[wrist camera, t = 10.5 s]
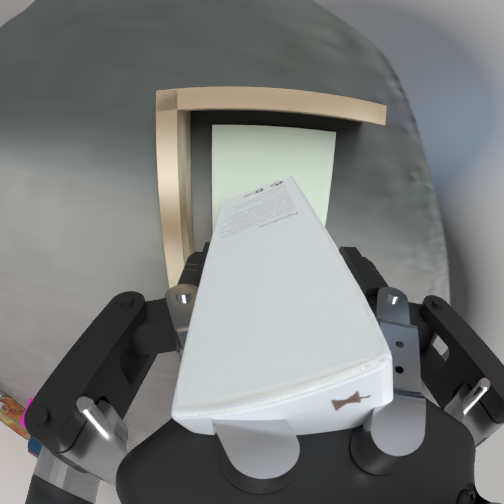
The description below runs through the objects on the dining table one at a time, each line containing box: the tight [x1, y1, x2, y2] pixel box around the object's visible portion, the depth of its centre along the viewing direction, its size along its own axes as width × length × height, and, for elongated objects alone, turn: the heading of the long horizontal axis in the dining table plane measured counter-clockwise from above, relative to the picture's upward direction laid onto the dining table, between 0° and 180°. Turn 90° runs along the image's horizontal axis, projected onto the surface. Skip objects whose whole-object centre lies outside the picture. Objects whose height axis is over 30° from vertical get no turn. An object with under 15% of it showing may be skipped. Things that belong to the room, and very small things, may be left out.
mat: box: [212, 125, 336, 231], centre depth 19 cm, size 12×8×1 cm, turn 178°
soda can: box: [28, 436, 43, 458], centre depth 36 cm, size 7×7×12 cm
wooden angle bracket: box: [156, 87, 387, 288], centre depth 18 cm, size 16×13×4 cm
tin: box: [0, 396, 31, 440], centre depth 38 cm, size 15×3×8 cm, turn 45°
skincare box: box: [171, 176, 393, 435], centre depth 10 cm, size 6×4×12 cm
